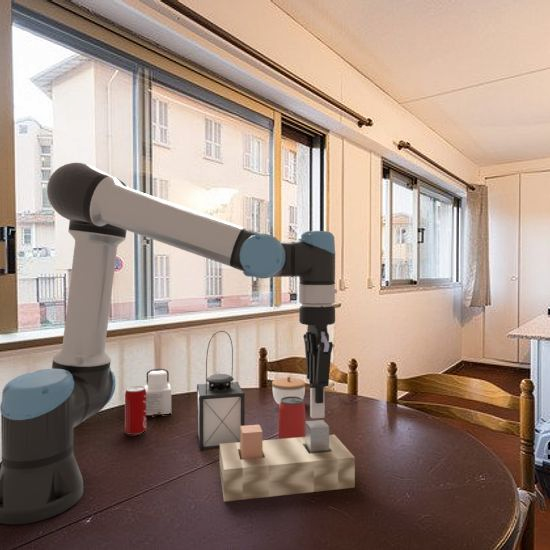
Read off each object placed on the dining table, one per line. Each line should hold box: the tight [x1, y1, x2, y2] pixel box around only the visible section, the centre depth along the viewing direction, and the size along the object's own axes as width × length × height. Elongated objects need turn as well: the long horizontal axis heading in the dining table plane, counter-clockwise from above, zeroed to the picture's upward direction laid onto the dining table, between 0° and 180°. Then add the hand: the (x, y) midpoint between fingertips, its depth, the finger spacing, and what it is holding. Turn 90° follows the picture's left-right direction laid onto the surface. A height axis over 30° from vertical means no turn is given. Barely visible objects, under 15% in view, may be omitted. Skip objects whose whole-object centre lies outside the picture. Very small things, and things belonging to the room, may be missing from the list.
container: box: [144, 368, 172, 415], centre depth 127 cm, size 8×8×13 cm
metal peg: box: [305, 419, 330, 454], centre depth 87 cm, size 4×4×6 cm
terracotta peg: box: [240, 424, 264, 459], centre depth 84 cm, size 4×4×6 cm
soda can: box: [124, 385, 147, 435], centre depth 111 cm, size 6×6×12 cm
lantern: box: [196, 330, 246, 452], centre depth 106 cm, size 11×11×28 cm
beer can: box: [278, 396, 306, 439], centre depth 101 cm, size 7×7×12 cm
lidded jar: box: [271, 376, 306, 405], centre depth 134 cm, size 11×11×9 cm
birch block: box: [219, 434, 356, 502], centre depth 86 cm, size 26×12×6 cm, turn 101°
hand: (317, 416), depth 87 cm, fingers closed
